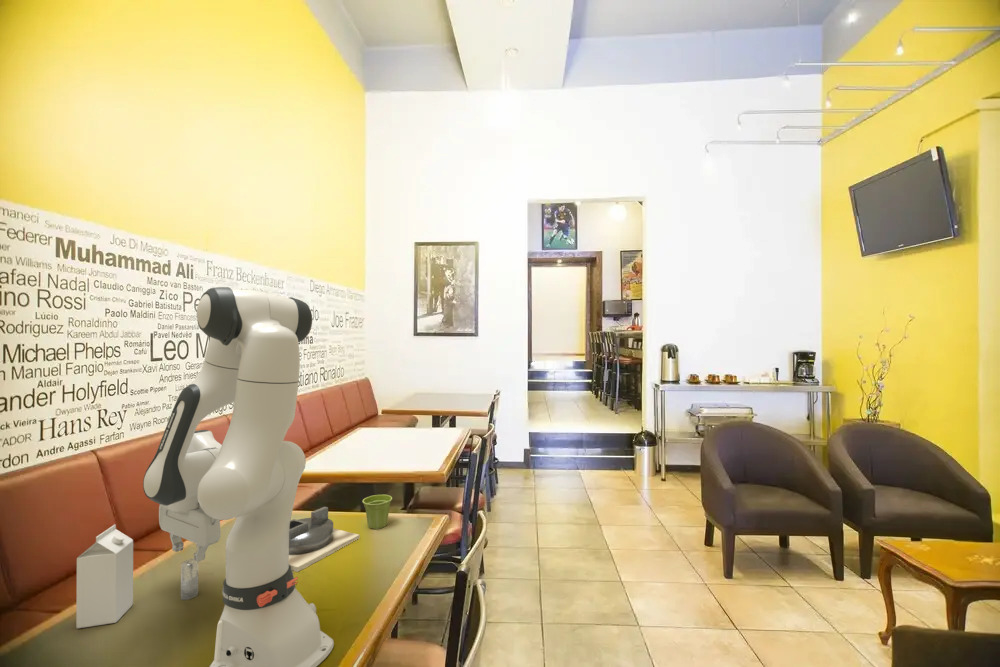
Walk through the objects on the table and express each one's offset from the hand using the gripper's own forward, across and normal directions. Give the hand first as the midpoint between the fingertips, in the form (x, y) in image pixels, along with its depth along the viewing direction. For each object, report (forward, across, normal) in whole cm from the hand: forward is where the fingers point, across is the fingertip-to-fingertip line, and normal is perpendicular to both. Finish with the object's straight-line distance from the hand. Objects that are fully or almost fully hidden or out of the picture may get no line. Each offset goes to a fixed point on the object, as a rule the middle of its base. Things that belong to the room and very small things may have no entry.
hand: (188, 555), depth 107 cm
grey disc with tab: (+7, -4, -30) cm, 31 cm away
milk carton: (+10, +7, +13) cm, 18 cm away
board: (+9, -4, -30) cm, 32 cm away
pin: (+9, -1, 0) cm, 9 cm away
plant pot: (+8, -13, -51) cm, 53 cm away
